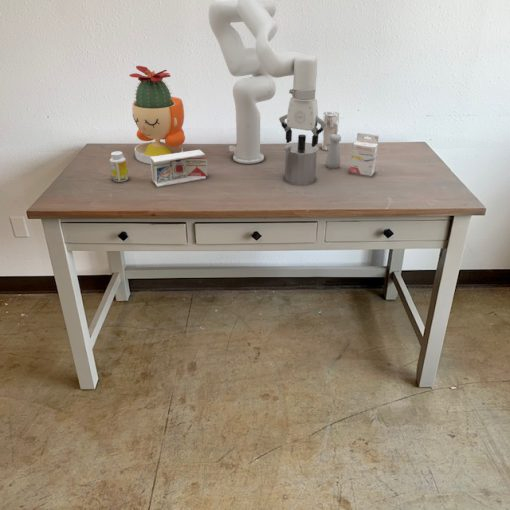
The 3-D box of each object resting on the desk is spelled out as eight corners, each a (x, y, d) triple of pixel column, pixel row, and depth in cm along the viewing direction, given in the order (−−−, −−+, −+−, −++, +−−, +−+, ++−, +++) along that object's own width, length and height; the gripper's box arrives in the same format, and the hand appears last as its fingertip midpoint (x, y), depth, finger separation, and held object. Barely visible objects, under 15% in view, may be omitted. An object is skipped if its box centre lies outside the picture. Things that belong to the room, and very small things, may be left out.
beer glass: (337, 151, 205) (340, 115, 198) (321, 151, 205) (323, 115, 198) (335, 145, 211) (338, 111, 204) (319, 145, 211) (322, 111, 204)
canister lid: (279, 153, 171) (279, 137, 168) (292, 143, 180) (292, 128, 177) (311, 158, 166) (312, 142, 163) (322, 148, 175) (323, 133, 172)
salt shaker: (339, 170, 186) (342, 137, 179) (324, 169, 187) (327, 136, 180) (340, 165, 191) (343, 133, 184) (325, 164, 192) (328, 132, 185)
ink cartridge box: (349, 173, 183) (353, 135, 176) (352, 169, 187) (356, 132, 179) (371, 177, 180) (376, 138, 172) (374, 173, 184) (379, 135, 176)
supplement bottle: (130, 176, 180) (126, 150, 175) (126, 182, 176) (122, 155, 170) (115, 176, 181) (111, 150, 175) (111, 182, 176) (106, 155, 170)
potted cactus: (166, 168, 188) (157, 73, 170) (124, 157, 198) (111, 67, 180) (199, 152, 204) (194, 64, 186) (159, 143, 214) (151, 59, 196)
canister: (280, 181, 176) (281, 151, 170) (291, 172, 185) (293, 142, 179) (308, 187, 172) (310, 156, 166) (318, 176, 181) (321, 147, 175)
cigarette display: (156, 187, 172) (153, 161, 167) (152, 181, 177) (149, 156, 172) (209, 177, 180) (208, 153, 175) (204, 172, 184) (202, 149, 179)
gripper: (276, 94, 163) (274, 143, 172) (324, 99, 157) (320, 150, 165) (284, 89, 169) (283, 137, 178) (332, 94, 162) (328, 144, 171)
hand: (301, 143), depth 172 cm, fingers open, 9 cm apart
